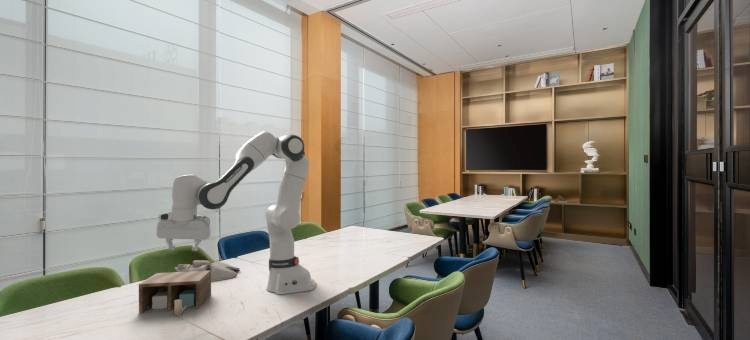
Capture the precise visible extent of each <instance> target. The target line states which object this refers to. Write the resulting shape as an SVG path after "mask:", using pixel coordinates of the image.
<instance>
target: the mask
mask: <svg viewBox="0 0 750 340" xmlns="http://www.w3.org/2000/svg"><path fill="white" fill-rule="evenodd" d="M174 269H175V270H176V272H189V271H208V270H211V283H213V282H220V281H227V280H230V279H234V278H236V277H237V276H238V273H237V272H239V271H241V270H240V268H239V267H235V266H232V265H231V264H227V263H225V262H223V261H214V262H211V261H210V260H205V259H204V260H203V259H202V260H199V259H198V260H196V259H195V260H193V261H192V264H189V263H184V264H183V263H179V264H177V266H175V267H174ZM235 270H237V272H236V271H235Z"/></svg>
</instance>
